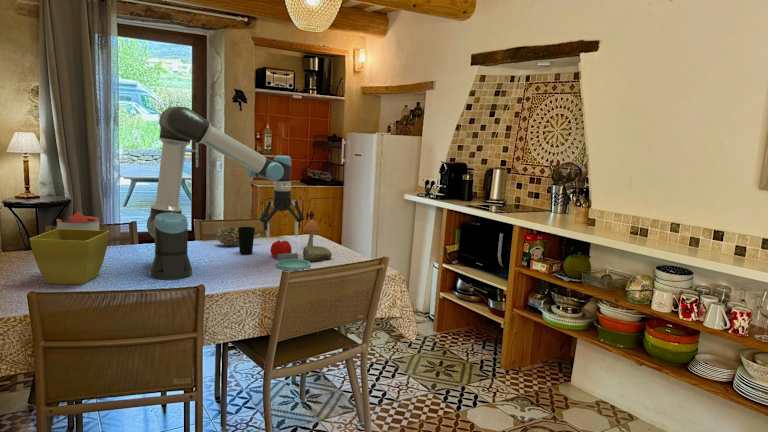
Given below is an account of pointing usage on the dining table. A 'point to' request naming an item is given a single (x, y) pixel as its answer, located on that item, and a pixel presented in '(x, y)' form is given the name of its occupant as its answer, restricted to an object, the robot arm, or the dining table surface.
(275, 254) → the tomato
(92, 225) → the citrus juicer
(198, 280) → the dining table surface
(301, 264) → the dish
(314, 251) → the stone
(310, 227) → the mushroom
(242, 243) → the cup
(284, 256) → the rail
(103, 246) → the flower pot
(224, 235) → the pine cone
